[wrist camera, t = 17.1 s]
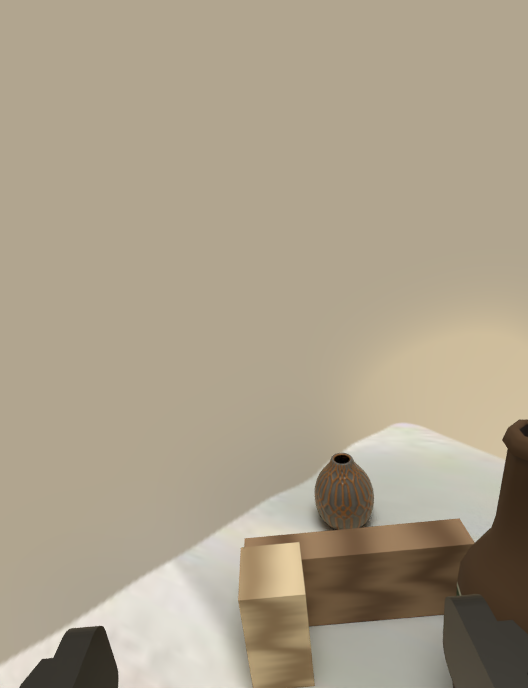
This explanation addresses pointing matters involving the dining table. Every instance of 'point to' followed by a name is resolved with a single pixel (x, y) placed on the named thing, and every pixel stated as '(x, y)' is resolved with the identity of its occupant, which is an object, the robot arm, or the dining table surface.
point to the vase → (344, 493)
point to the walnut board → (378, 570)
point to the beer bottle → (504, 541)
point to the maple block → (275, 616)
